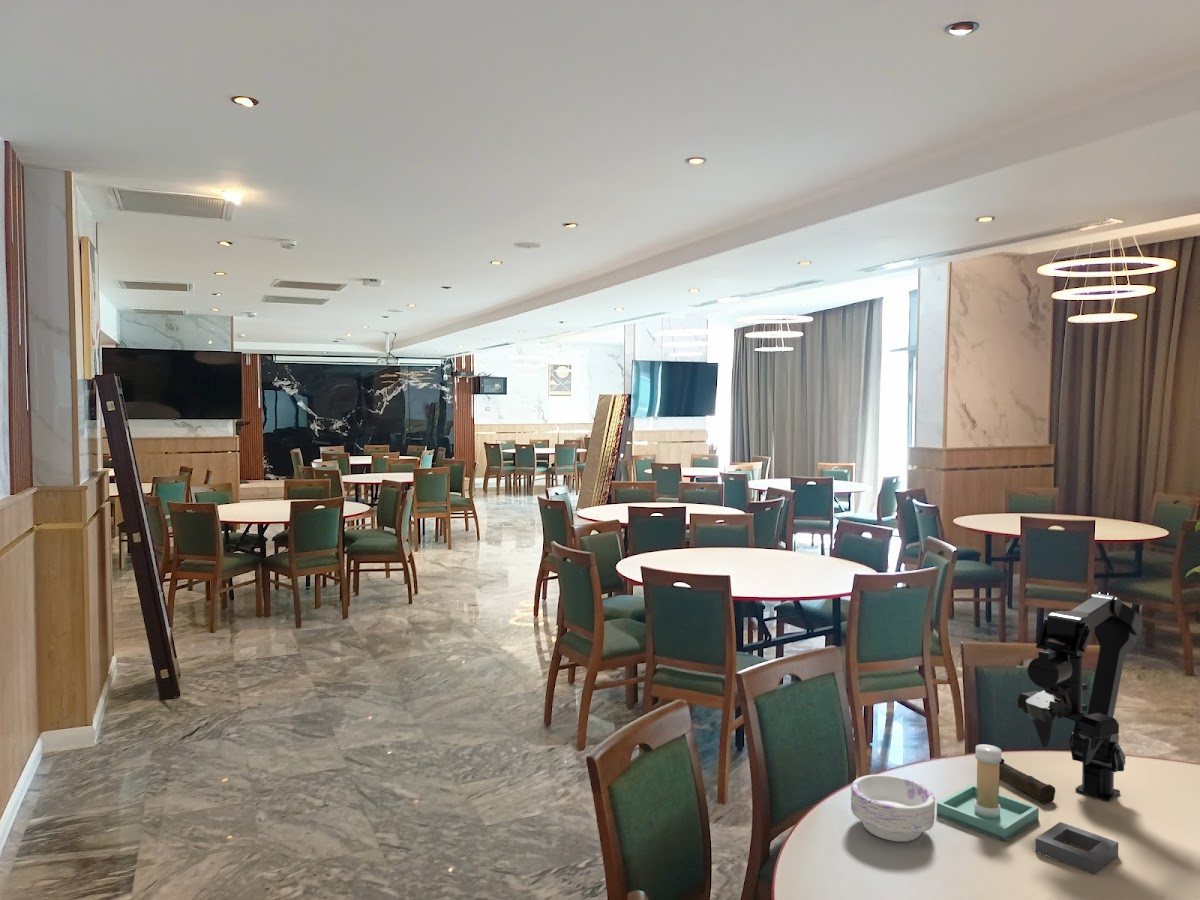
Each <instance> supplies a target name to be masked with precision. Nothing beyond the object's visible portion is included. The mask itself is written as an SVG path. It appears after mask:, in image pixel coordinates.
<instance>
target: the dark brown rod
mask: <svg viewBox="0 0 1200 900" xmlns="http://www.w3.org/2000/svg"><path fill="white" fill-rule="evenodd" d="M999 778H1000V779H999V780H1002V781H1004V782H1006V783H1008V784H1009V785H1011V786H1014V787H1016V788H1017V789H1019V790H1021V791H1023V792H1024V793H1026V794H1028V795H1030V796H1032V797H1033V798H1035V799H1038V800H1039V803H1040V804H1041V805H1045V804H1046V805H1047V803H1048V804H1051V803H1052V802H1053V801H1054V800H1055V796H1056V795H1055V794H1056V787H1054V786H1053V785H1052V784H1048V783H1044V782H1042V780H1041V781H1040V780H1038V779H1037V778H1035V777H1034V776H1032V775H1029V774H1026V773H1024V772H1023V771H1020V770H1018V769H1017V768H1015V767H1013V766H1010V765H1009V764H1007V763H1005V759H1004V758H1002V757H1001V762H1000V763H999Z"/></svg>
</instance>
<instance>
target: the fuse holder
mask: <svg viewBox="0 0 1200 900" xmlns="http://www.w3.org/2000/svg"><path fill="white" fill-rule="evenodd" d="M1064 843H1065V844H1064ZM1066 843H1067V844H1066ZM1069 844H1070V845H1069ZM1072 845H1073V846H1072ZM1074 846H1075V847H1074ZM1077 847H1078V848H1077ZM1085 850H1086V851H1085ZM1038 852H1039V854H1040V853H1041V854H1040V855H1043V854H1044V855H1043V856H1045V855H1047V856H1046V857H1048V856H1049V857H1048V858H1050V857H1051V858H1050V859H1054V860H1055V859H1056V861H1059V862H1061V863H1064V864H1066V865H1068V866H1071V867H1074V868H1076V869H1079V870H1082V871H1083V872H1087V873H1089V874H1092V875H1093V876H1094V875H1097V874H1098V873H1099V872H1100V871H1102V870H1103V869H1105V867H1107V866H1108V865H1109V864H1110V863H1111V862H1114V860H1115V859H1116V858H1118V857H1119V842H1118V841H1117V840H1112V839H1109V838H1106V837H1104V836H1102V835H1099V834H1096V833H1092V832H1090V831H1087V830H1084V829H1082V828H1080V827H1075V826H1073V825H1071V824H1068V823H1064V822H1062V821H1059V822H1057V823H1056V824H1055V825H1053V826H1052V827H1050V828H1049V829H1047V830H1046V831H1044V832H1043V833H1041V834H1039V835H1038V836H1037V837H1035V853H1038Z"/></svg>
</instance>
